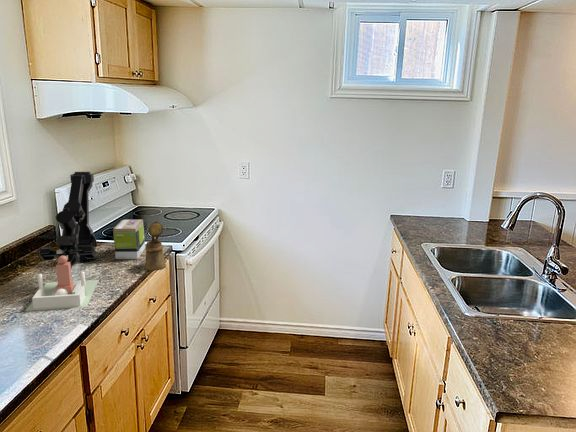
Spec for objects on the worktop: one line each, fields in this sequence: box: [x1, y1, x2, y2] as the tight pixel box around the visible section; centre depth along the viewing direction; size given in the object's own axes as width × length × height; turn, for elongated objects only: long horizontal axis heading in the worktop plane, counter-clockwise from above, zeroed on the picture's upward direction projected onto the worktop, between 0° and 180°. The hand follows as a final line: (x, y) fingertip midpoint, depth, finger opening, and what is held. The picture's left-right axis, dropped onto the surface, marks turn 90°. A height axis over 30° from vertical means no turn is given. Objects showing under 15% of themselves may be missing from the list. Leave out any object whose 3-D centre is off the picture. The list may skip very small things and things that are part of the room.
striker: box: [55, 256, 74, 294], centre depth 158 cm, size 4×5×14 cm
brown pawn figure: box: [144, 221, 167, 272], centre depth 187 cm, size 9×14×18 cm, turn 8°
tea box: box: [112, 219, 146, 260], centre depth 200 cm, size 15×10×15 cm, turn 5°
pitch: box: [25, 279, 100, 312], centre depth 159 cm, size 24×19×2 cm
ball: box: [55, 289, 68, 295], centre depth 154 cm, size 4×4×4 cm
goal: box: [31, 271, 87, 309], centre depth 152 cm, size 9×15×9 cm, turn 103°
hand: (65, 274), depth 160 cm, fingers closed, pressing on striker
